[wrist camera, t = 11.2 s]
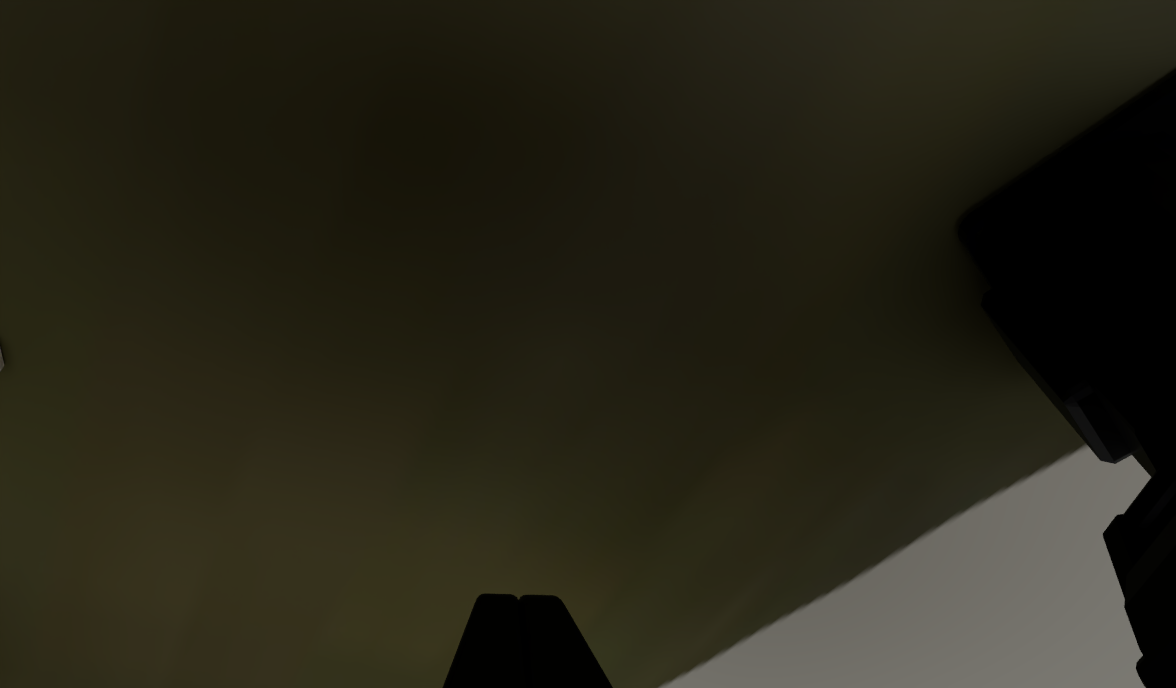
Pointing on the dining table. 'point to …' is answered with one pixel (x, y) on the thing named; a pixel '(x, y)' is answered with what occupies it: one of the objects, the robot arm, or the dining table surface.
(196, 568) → the dining table surface
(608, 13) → the dining table surface
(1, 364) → the trap lane
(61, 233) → the dining table surface
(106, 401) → the dining table surface
